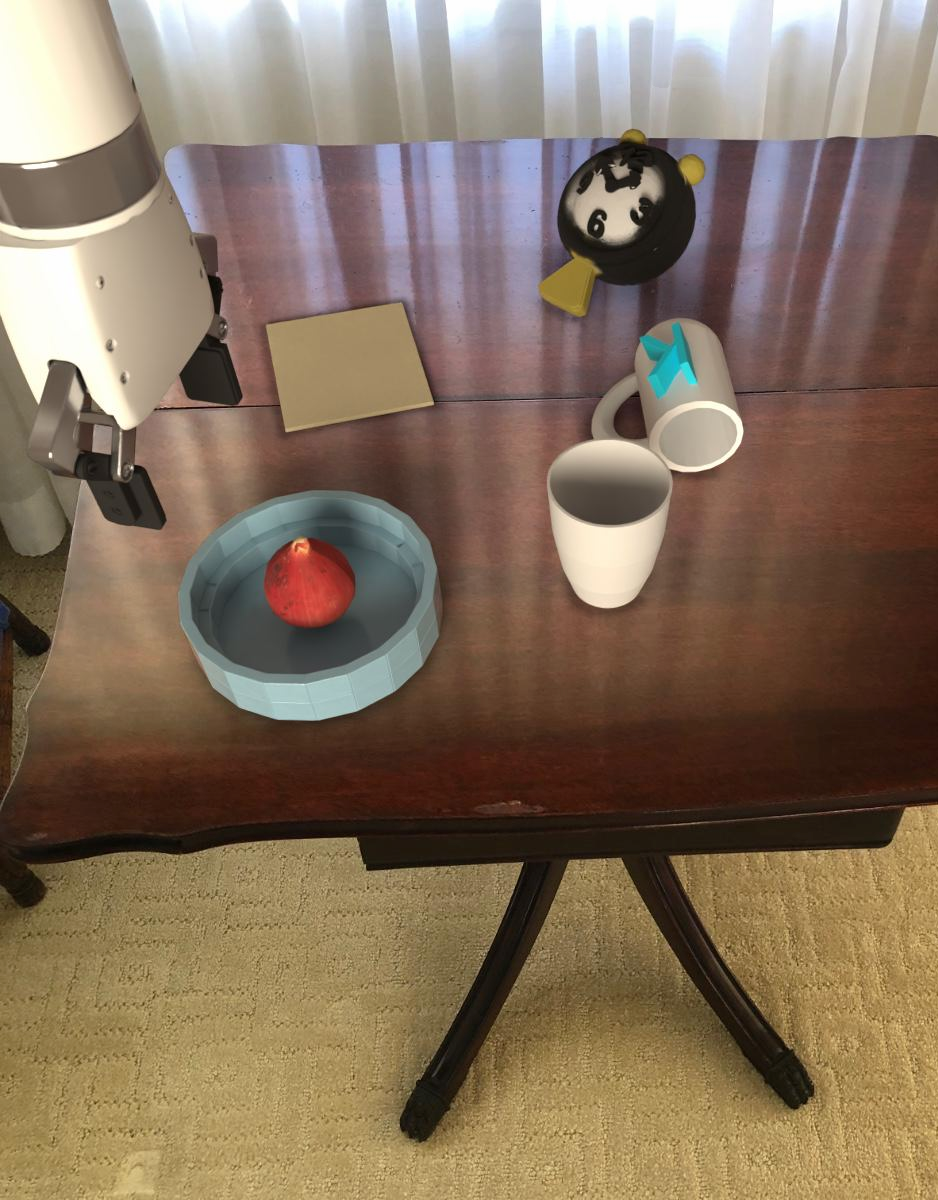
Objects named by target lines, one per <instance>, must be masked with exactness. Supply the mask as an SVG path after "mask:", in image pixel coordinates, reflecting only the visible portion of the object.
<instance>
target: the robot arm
mask: <svg viewBox="0 0 938 1200" xmlns="http://www.w3.org/2000/svg"><path fill="white" fill-rule="evenodd" d="M125 51H126V50H125V48H124V46H123V42H122V39H121V36H120V32H119V30H118V27H117V23H116V20H115V17H114V13H113V10H112V8H111V4H110V2H109V0H0V318H1V320H2V321H1V322H2V324H3V326H4V330H5V332H6V334H7V337H8V339H9V341H10V345H11V347H12V349H13V351H14V352H13V353H14V355H15V357H16V359H17V361H18V363H19V366H20V368H21V371H22V374H23V376H24V377H25V380H26V382H27V384H28V386H29V389H30V391H31V393H32V395H33V397H34V399H35V401H36V403H37V405H38V406H37V410H36V413H35V417H34V420H33V423H32V426H31V430H30V433H29V437H28V440H27V443H26V449H25V452H26V455H27V458H28V459H29V460H30V461H32V462H34V463H36V464H37V465H38V466H41V467H43V468H44V469H46V470H47V471H50V472H51V473H52V474H53V475H54V476H57V477H63V478H70V479H75V480H83V481H86V484H87V485H88V487H89V488H88V489H90V492H91V494H92V496H93V498H94V499H95V502H96V504H97V506H98V509H99V510H100V512H101V515H102V516H103V518H104V519H105V520H106V521H108V522H110V523H114V524H115V525H119V526H126V527H137V528H143V529H149V530H156V531H161V530H163V528H164V526H165V525H166V523H167V521H168V519H167V515H166V513H165V510H164V507H163V505H162V503H161V501H160V498H159V496H158V493H157V491H156V489H155V487H154V484H153V482H152V480H151V477H150V475H149V473H148V470H147V469H146V468H145V467H144V466H142V465H139V464H135V461H136V446H137V445H136V443H137V426H139V425H140V424H142V423H143V422H144V421H145V420H146V419H147V418H149V416H150V415H151V414H152V413H153V412H154V411H155V409H156V408H157V407H158V405H159V403H161V401H162V400H163V398H164V397H165V395H166V394H167V393H168V391H169V390H170V388H171V387H172V385H173V384H174V383H175V381H176V380H177V378H178V377H179V379H180V382H181V384H182V387H183V390H184V393H185V396H186V398H188V399H189V400H191V401H195V402H204V403H209V404H210V403H211V404H216V405H223V406H231V407H233V406H239V404H240V403H241V401H242V400H243V397H244V396H243V395H244V394H243V392H242V388H241V385H240V382H239V379H238V375H237V372H236V369H235V366H234V363H233V359H232V356H231V353H230V350H229V346H228V343H227V342H222V341H225V340H226V338H227V336H228V331H229V327H228V326H229V325H228V321H227V319H226V318H225V317H223V316H222V315H221V307H222V306H221V305H222V297H223V293H224V287H223V285H224V284H223V281H222V279H221V277H220V276H217V273H219V251H218V239H217V236H216V235H215V234H211V233H203V232H195V231H193V230H192V228H191V226H190V223H189V221H188V219H187V218H188V217H187V216H186V213H185V210H184V209H183V206H182V204H181V201H180V200H179V197H178V195H177V193H176V190H175V188H174V186H173V184H172V182H171V180H170V178H169V176H168V174H167V171H166V170H165V168H164V166H163V164H162V162H161V161H160V158H159V155H158V151H157V148H156V145H155V142H154V139H153V136H152V133H151V129H150V127H149V123H148V120H147V118H146V114H145V111H144V108H143V105H142V102H141V100H140V96H139V93H138V89H137V86H136V83H135V80H134V77H133V73H132V69H131V68H130V65H129V64H130V63H129V61H128V58H127V54H126V52H125ZM93 401H94V402H95V403H96V404H97V405H98V406H99V407H100V408H101V409H94V408H92V402H93ZM95 425H96V426H104V427H109V428H111V444H110V445H111V446H110V453H103V452H95V451H93V447H94V445H93V444H94V426H95Z"/></svg>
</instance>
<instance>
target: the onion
mask: <svg viewBox="0 0 938 1200" xmlns="http://www.w3.org/2000/svg"><path fill="white" fill-rule="evenodd" d="M263 585H264V593H265V596H266V598H267V601H268V603H269V606H270V608H271V609H272V611H273V613H274V614H275V615H277V616H278V617H279V618H281V619H282V620H283V621H285V622H286V623H288V624H290V625H293V626H298V627H303V628H315V627H322V626H325V625H327V624H330V623H333V622H335V621H336V620H337V619H339V618H340V617H341V616H342V615H344V614H345V612H346V611H347V609H348V607H349V606H350V604H351V602H352V600H353V598H354V597H355V585H356V582H355V574H354V572H353V570H352V568H351V566H350V564H349V562H348V560H347V558H346V556H345V555H344V554H343V553H342V552H341V551H340V550H338V549H337V548H335V547H334V546H333V545H331V544H329V543H328V542H324V541H321V540H318V539H315V538H305V537H302V536H299V537H297V539H295V540H292V541H290V542H288V543H287V544H285V545H283V546H282V547H281V548H280V549H278V550H277V551H276V552H275V554H274V555H273V556H272V558H271V559H270V560H269V562H268V564H267V568H266V574H265V579H264V584H263Z"/></svg>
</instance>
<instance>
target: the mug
mask: <svg viewBox="0 0 938 1200" xmlns="http://www.w3.org/2000/svg"><path fill="white" fill-rule="evenodd" d="M638 339H639V340H640V341H639V343H638V346H637V349H636V352H635V355H634V372H633V373H631V374H629V375H628V376H627V375H626V376H625V377H624V378H623V379H621V380H620V381H618V382H617V383H616V384H614V385H613V386H612V387H611V388H610V389H609V390H608V391H607V392H606V393H605V394H604V395H603V396H602V398H601V400H600V401H599V402H598V404H597V406H596V407H595V410H594V412H593V416H592V418H591V435H592V437H593V439H600V438H618V439H625V440H629V441H633V442H636V443H639V444H641V445H644V446H646V447H648V448H649V449H651V450H652V451H654V452H655V453H657V454H658V455H659V456H660V457H661V458H662V459H663V460H664V461H665V463H666V464H667V466H668V467H669V469H670V470H673V471H677V472H681V473H697V472H701V471H706V470H710V469H712V468H715V467H717V466H719V465H721V464H723V463H725V462H726V461H727V460H728V459H729V458H731V457H732V456H733V455H734V454H735V453H736V451H737V449H738V448H739V447H740V445H741V444H742V440H743V436H744V427H743V423H742V422H743V421H742V418H741V414H740V410H739V407H738V402H737V398H736V395H735V392H734V387H733V383H732V379H731V375H730V371H729V368H728V364H727V361H726V360H727V359H726V357H725V353H724V350H723V346H722V343H721V341H720V338H719V337H718V335H717V334H716V333H715V332H714V331H713V330H712V329H711V328H710V327H709V326H707V325H706V324H704V323H702V322H701V321H698V320H695V319H692V318H686V317H676V318H670V319H667V320H664V321H661V322H660V323H657V324H656V325H654V326H653V327H651V328H650V329H649V330H648V331H647V332H646V333H645V335H643V336H639V337H638ZM637 392H638V393H639V397H640V398H639V399H640V403H641V409H642V414H643V419H644V426H645V431H646V437H644V438H637V439H636V438H635V439H632V438H631V439H630V438H625V437H623V436H621V435H619V433H617V431H616V429H615V426H614V419H615V416H616V414H617V412H618V410H619V408H620V407H621V405H623V403H624V402H625V401H626V400H627V399H628V398H629V397H631V396H633V395H634V394H635V393H637Z"/></svg>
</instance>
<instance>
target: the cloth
mask: <svg viewBox="0 0 938 1200" xmlns="http://www.w3.org/2000/svg"><path fill="white" fill-rule="evenodd" d="M265 328H266V333H267V334H266V335H267V339H268V345H269V349H270V357H271V361H272V366H273V372H274V377H275V383H276V388H277V392H278V399H279V404H280V409H281V415H282V419H283V420H282V421H283V426H284V430H285V433H289V432H291V433H292V432H296V431H301V430H307V429H313V428H318V427H322V426H327V425H333V424H339V423H345V422H349V421H355V420H360V419H361V420H362V419H366V418H371V417H377V416H381V415H387V414H388V415H389V414H393V413H398V412H402V411H410V410H415V409H421V408H425V407H431V406H434V405H435V402H434V399H433V398H434V397H433V395H432V392H431V389H430V386H429V382H428V379H427V377H426V373H425V370H424V367H423V363H422V360H421V358H420V354H419V350H418V348H417V345H416V341H415V339H414V335H413V332H412V328H411V326H410V322H409V319H408V316H407V313H406V309H405V307H404V304H403V301H400V302H394V303H388V304H381V305H375V306H369V307H364V308H363V307H362V308H358V309H352V310H346V311H339V312H333V313H329V314H328V313H327V314H322V315H315V316H310V317H309V316H308V317H305V318H298V319H291V320H286V321H279V322H273V323H267V324H265Z"/></svg>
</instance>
